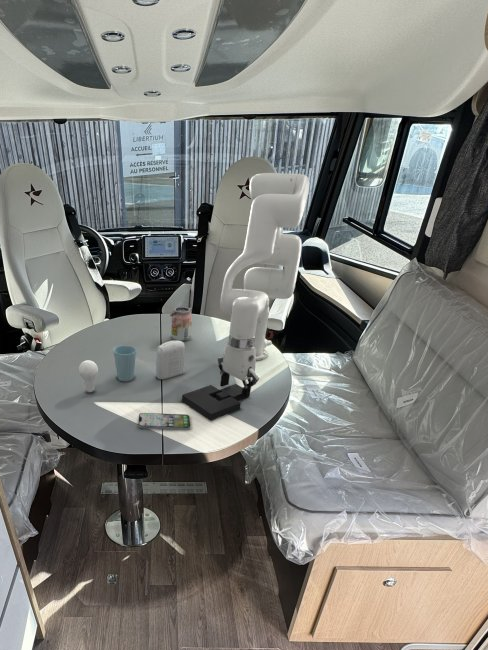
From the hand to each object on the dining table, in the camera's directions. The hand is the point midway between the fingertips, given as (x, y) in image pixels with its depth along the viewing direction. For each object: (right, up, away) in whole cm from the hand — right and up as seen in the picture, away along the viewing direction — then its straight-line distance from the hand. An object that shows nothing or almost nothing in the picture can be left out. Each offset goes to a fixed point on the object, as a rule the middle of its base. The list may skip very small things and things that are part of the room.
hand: (234, 391), depth 142 cm
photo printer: (-20, +7, +13) cm, 25 cm away
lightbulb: (-47, 0, +3) cm, 47 cm away
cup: (-36, +6, +12) cm, 38 cm away
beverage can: (-15, +28, +41) cm, 51 cm away
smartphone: (-23, -11, -12) cm, 28 cm away
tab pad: (-1, -2, 0) cm, 3 cm away
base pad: (-8, -5, -4) cm, 10 cm away
